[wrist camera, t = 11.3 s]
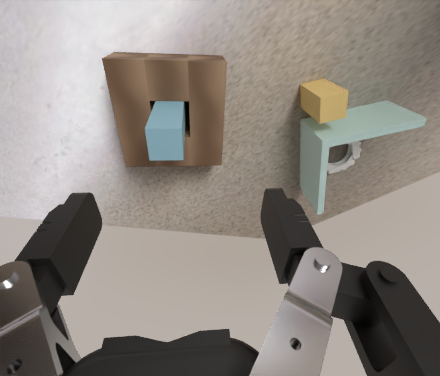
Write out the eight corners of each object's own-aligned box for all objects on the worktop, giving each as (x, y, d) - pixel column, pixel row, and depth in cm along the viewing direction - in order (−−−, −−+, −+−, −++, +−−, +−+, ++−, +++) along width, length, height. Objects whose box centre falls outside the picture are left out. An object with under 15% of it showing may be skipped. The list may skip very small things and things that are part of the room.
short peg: (323, 78, 30) (348, 90, 26) (322, 101, 32) (345, 117, 27) (300, 84, 30) (320, 97, 26) (300, 107, 32) (319, 123, 27)
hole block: (222, 55, 28) (226, 62, 24) (218, 149, 35) (221, 165, 31) (114, 52, 26) (102, 58, 23) (132, 149, 33) (126, 166, 30)
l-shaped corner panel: (298, 185, 41) (317, 214, 35) (298, 118, 34) (322, 140, 28) (368, 169, 40) (399, 197, 34) (384, 98, 33) (426, 117, 27)
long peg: (184, 90, 30) (181, 128, 20) (185, 114, 31) (183, 160, 22) (159, 90, 29) (144, 128, 20) (162, 114, 31) (149, 160, 21)
